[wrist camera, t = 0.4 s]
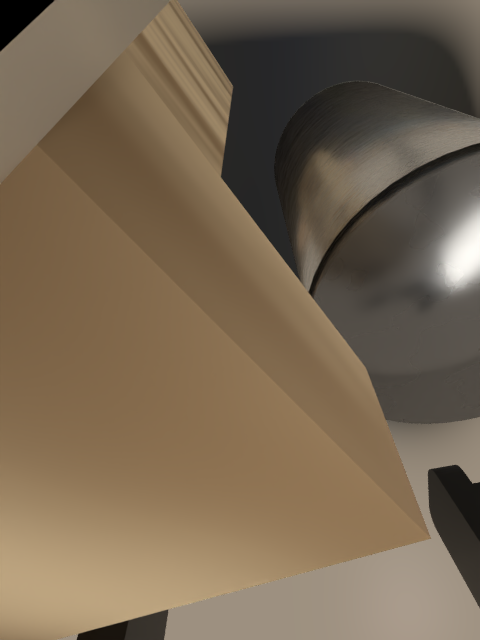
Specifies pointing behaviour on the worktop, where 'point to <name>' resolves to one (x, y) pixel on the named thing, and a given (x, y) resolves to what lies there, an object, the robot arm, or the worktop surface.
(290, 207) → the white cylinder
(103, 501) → the tall wooden block
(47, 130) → the bar
